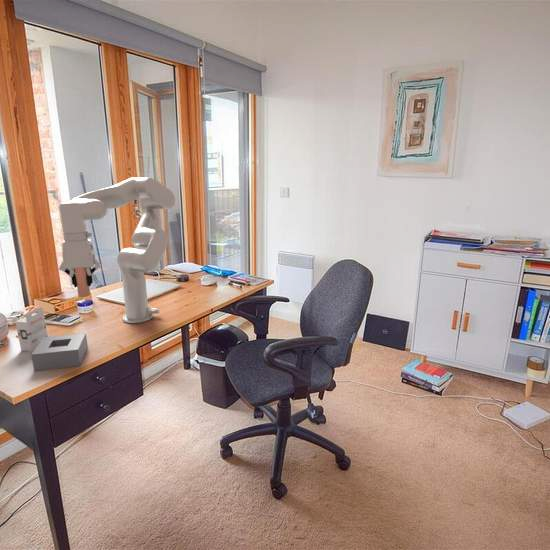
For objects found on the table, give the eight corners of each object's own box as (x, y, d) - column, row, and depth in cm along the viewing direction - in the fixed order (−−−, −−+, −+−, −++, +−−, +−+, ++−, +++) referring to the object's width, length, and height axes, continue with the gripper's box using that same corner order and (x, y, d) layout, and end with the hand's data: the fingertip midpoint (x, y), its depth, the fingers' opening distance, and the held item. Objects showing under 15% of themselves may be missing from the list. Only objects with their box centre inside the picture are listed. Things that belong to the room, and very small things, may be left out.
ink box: (37, 341, 151) (31, 305, 148) (49, 342, 151) (43, 305, 147) (20, 351, 143) (13, 313, 139) (32, 352, 143) (25, 314, 139)
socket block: (88, 347, 146) (85, 332, 144) (80, 365, 133) (77, 349, 131) (46, 352, 142) (43, 337, 141) (34, 371, 129) (31, 354, 128)
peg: (91, 293, 148) (86, 259, 144) (89, 296, 144) (84, 262, 141) (79, 294, 147) (74, 260, 143) (77, 297, 143) (72, 262, 140)
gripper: (102, 233, 145) (108, 281, 150) (52, 236, 141) (60, 284, 146) (99, 237, 138) (105, 287, 143) (46, 240, 134) (55, 290, 139)
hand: (82, 285), depth 145 cm, fingers closed on peg, 4 cm apart
